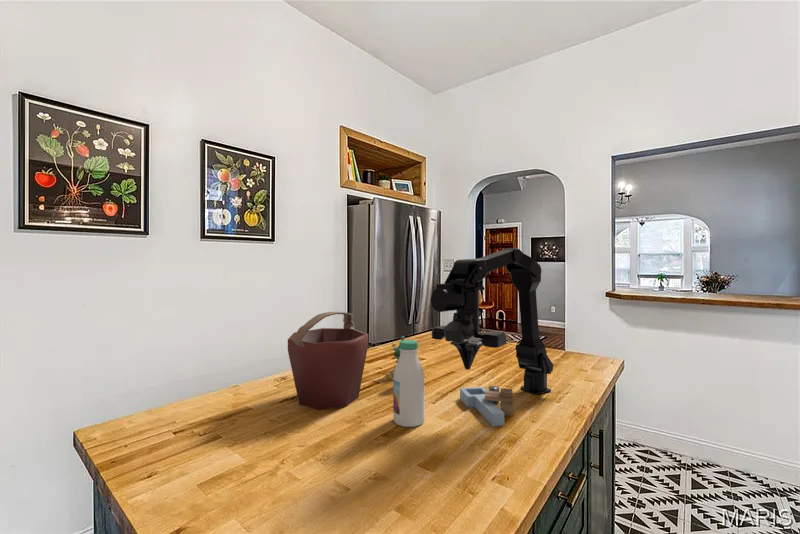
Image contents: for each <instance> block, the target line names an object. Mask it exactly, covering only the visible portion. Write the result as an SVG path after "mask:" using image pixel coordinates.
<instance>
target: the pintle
mask: <svg viewBox="0 0 800 534" xmlns="http://www.w3.org/2000/svg"><path fill="white" fill-rule="evenodd" d="M488 391H494V392H500V387H499V386H496V385H490V386H488ZM493 403H494V404H495V405H498V404H500V401H493Z"/></svg>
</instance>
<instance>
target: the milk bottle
mask: <svg viewBox="0 0 800 534" xmlns="http://www.w3.org/2000/svg"><path fill="white" fill-rule="evenodd" d="M398 346H399V347H400V349H399V350H400V357H399V360H398V359H397V360H398V361H397V363H396V364H395V371H394V380H392V381H393V383H392V384H393V386H392V388H393V390H392V392H393V398H392V399H393V400H392V402H393V407H392V408H393V412H392V413H393V421H394V423H395V424H396V425H398V426H400V427H403V428H404V427H405V428H414V427H418V426H421V425H422V424H423V423H424V422H425V373H424V369H423V365H422V364H421V362H420V360H419V356H418V350H419V349H418V348H419V342H418V341H417V340H414V339H404V340H402V341H401V340H400V341H399V344H398Z"/></svg>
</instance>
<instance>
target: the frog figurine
mask: <svg viewBox="0 0 800 534" xmlns="http://www.w3.org/2000/svg"><path fill="white" fill-rule="evenodd" d="M402 340H405V336H404V335H402V336H401V337H400V341H402ZM391 347H392V348H393V351H394V353H393V356H394V357H395V358H396V361H395V362H394V366H393V368H391V369H389V370H388V371H387V372H386V373H385V376H384V377H383V378H382V380H384V381H389V380H391V381H394V371H395V367H396V365H397V363H398V360H399V357H400V350H399V349H400V347H399V345H398V346H397V347H396V344H392V346H391Z"/></svg>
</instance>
